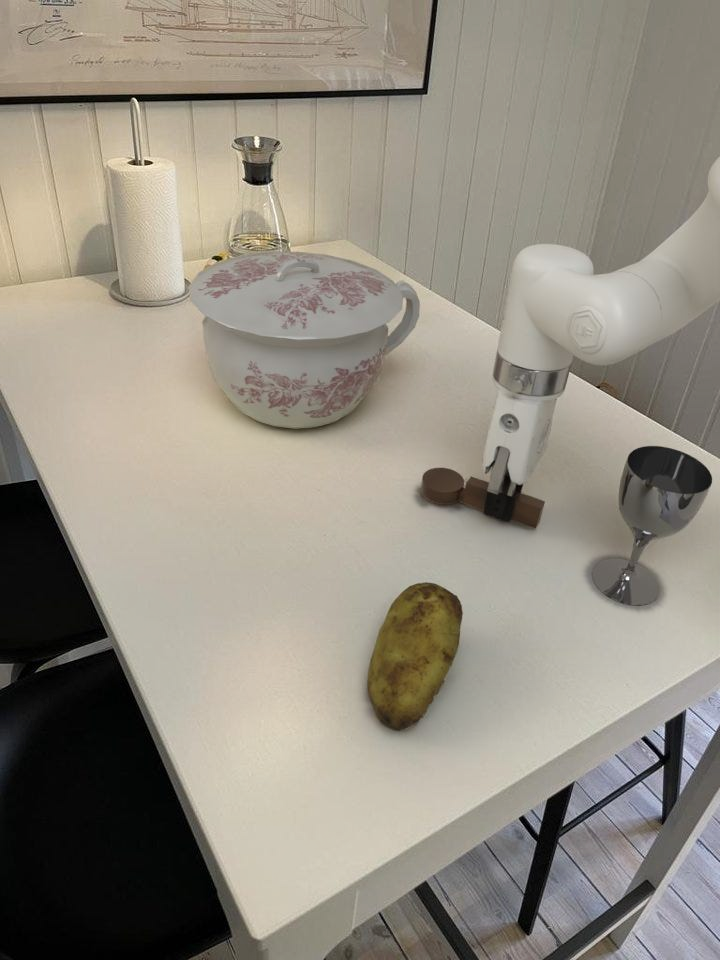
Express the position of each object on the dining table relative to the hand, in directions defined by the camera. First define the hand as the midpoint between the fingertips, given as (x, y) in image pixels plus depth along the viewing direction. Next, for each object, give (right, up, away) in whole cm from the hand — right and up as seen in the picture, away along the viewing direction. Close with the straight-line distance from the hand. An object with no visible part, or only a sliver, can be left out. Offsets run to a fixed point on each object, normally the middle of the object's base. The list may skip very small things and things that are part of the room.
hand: (500, 510), depth 88 cm
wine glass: (+12, -7, -6) cm, 16 cm away
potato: (-12, -15, -19) cm, 27 cm away
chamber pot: (-25, +14, +19) cm, 35 cm away
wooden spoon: (-3, +1, +1) cm, 3 cm away
